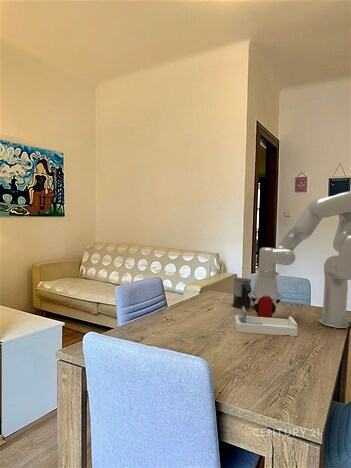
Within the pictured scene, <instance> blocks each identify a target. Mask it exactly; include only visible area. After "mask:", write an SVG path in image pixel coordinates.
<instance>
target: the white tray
mask: <svg viewBox="0 0 351 468" xmlns="http://www.w3.org/2000/svg"><path fill="white" fill-rule="evenodd" d="M241 318H242V315H237V314H236V315H234V326H235V331H236V333H244V334H245V333H249V334H259V335H271V336H272V335H273V336H282V335H290V336H289V337H294V336H297V337H298V323H297V322H296V320H295V319H294V318H293V316H288V319H287V318H278V317H277V318H275V317H272V318H265V317H257V316H250V315H249V316H247V315H246V322H251V323H262V324H263V325H260V324H247V323H242V322H241Z"/></svg>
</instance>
